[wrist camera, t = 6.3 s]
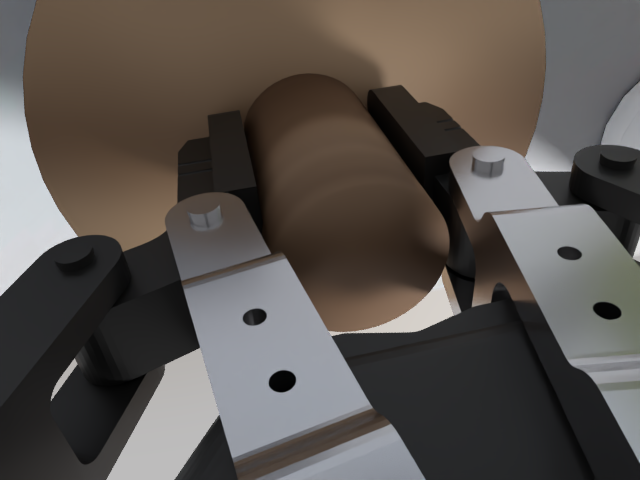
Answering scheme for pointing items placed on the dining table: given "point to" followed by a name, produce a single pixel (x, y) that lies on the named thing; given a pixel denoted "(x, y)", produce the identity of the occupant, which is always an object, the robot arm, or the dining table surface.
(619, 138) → the bottle
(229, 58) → the lid
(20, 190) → the dining table surface
